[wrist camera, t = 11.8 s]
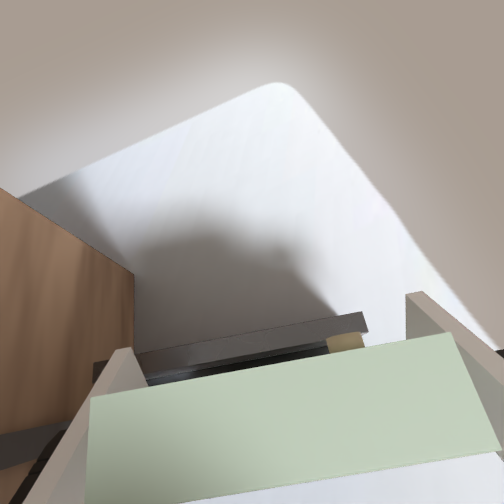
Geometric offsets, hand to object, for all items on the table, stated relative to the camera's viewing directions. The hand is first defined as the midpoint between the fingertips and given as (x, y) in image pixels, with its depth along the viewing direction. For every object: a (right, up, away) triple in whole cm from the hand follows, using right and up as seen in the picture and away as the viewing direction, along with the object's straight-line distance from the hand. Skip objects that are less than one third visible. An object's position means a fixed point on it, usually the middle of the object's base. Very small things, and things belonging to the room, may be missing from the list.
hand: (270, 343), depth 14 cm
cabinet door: (+1, -5, +7) cm, 9 cm away
